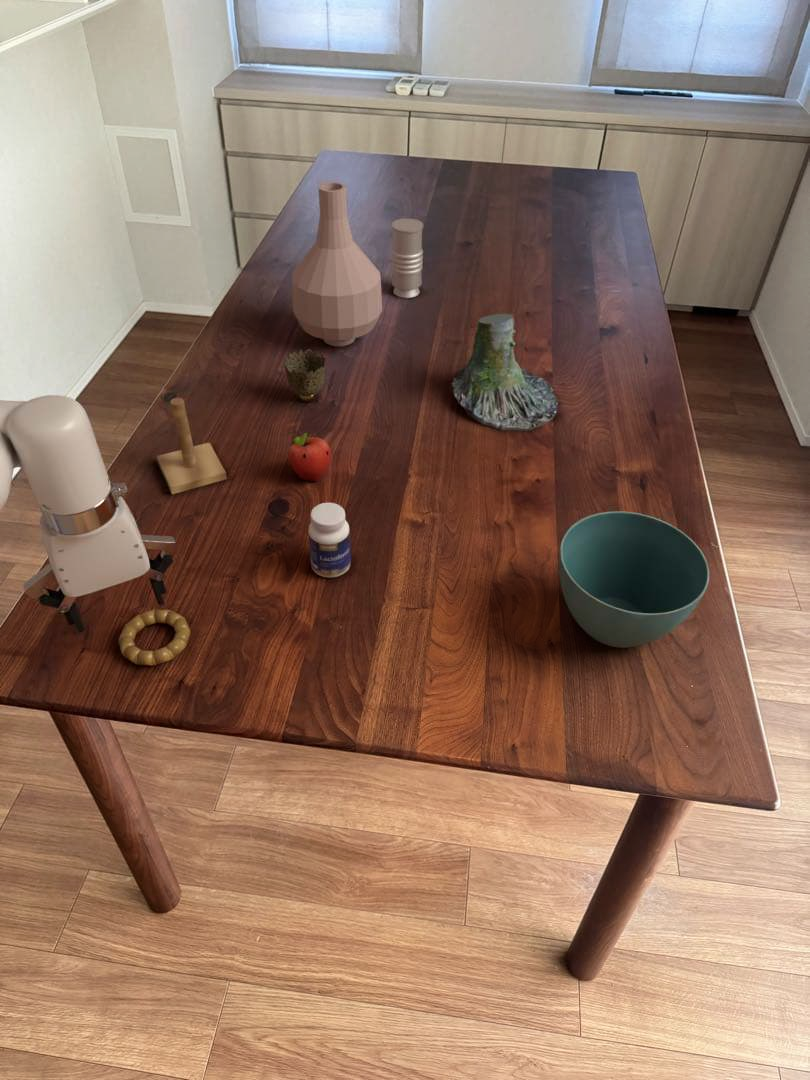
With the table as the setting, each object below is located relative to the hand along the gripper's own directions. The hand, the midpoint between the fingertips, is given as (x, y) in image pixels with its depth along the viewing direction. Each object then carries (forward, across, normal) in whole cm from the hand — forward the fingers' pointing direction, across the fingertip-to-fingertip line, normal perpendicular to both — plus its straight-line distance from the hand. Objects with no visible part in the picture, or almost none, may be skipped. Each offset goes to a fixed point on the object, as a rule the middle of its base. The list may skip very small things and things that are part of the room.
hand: (120, 610), depth 97 cm
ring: (+7, -3, 0) cm, 7 cm away
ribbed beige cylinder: (+9, -78, -76) cm, 109 cm away
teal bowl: (+9, -59, +24) cm, 64 cm away
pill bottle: (+8, -29, -3) cm, 30 cm away
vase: (+9, -56, -63) cm, 85 cm away
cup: (+8, -42, -45) cm, 62 cm away
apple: (+8, -34, -23) cm, 42 cm away
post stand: (+8, -17, -33) cm, 38 cm away
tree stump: (+9, -74, -29) cm, 80 cm away
